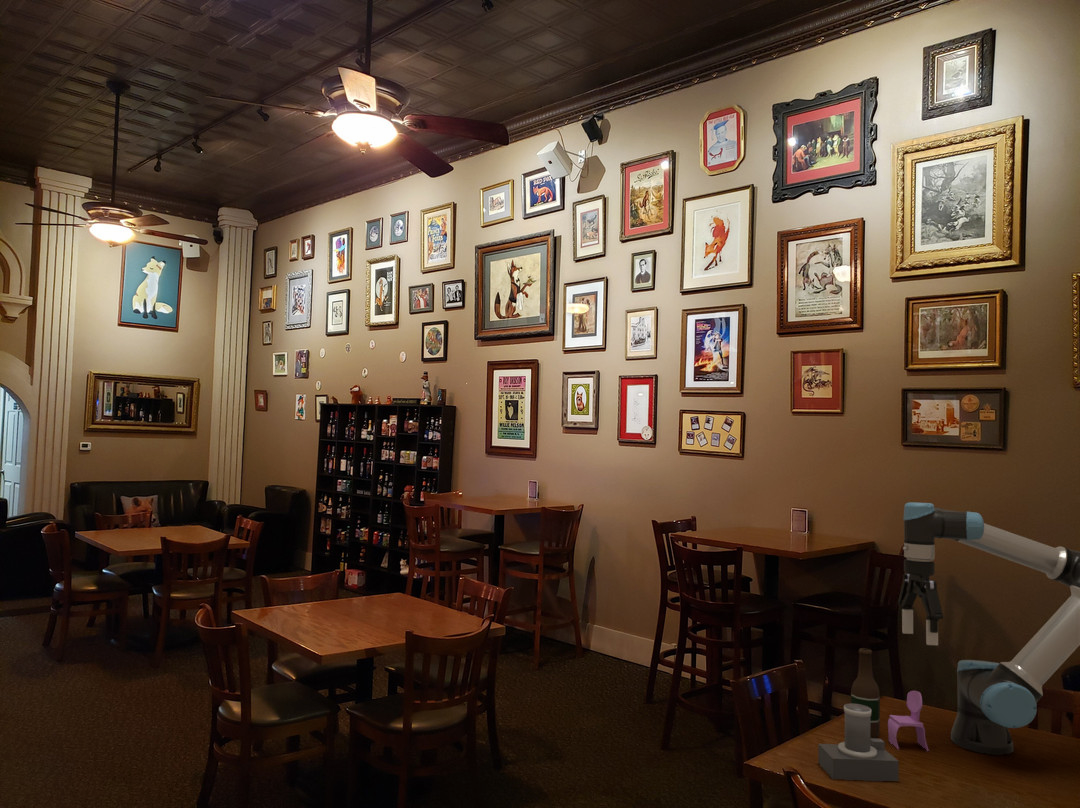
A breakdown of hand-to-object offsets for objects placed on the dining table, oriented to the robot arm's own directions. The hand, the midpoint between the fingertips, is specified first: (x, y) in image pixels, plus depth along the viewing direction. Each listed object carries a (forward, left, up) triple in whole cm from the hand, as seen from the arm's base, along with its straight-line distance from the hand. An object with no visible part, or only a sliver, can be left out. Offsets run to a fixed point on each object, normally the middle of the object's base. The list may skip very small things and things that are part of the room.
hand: (919, 639), depth 208 cm
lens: (+22, +13, -25) cm, 36 cm away
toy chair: (0, -7, -31) cm, 32 cm away
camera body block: (+22, +13, -31) cm, 40 cm away
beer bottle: (+8, -16, -31) cm, 36 cm away
